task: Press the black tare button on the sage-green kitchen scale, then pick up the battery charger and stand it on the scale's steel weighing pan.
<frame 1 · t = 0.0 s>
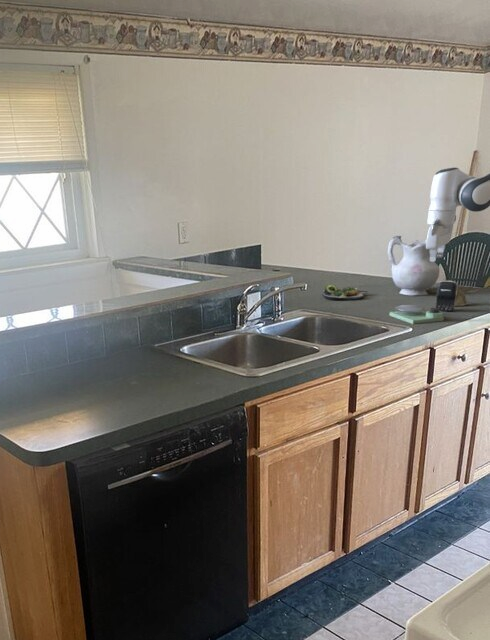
hand: (436, 259, 231), 23 cm above the countertop, tool pointing down, fingers open, 8 cm apart
salad plate: (340, 297, 287), on the countertop
scale: (415, 318, 246), on the countertop
scale pan: (408, 317, 248), resting on scale
tare button: (434, 310, 241), point 3 cm above the countertop, slide at 0.1 cm
ceramic pitcher: (410, 293, 288), on the countertop
battery charger: (443, 311, 254), on the countertop
rock: (451, 306, 263), on the countertop
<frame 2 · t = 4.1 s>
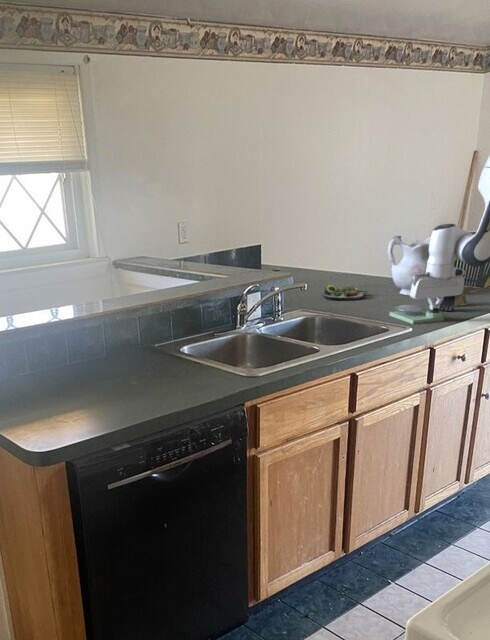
hand: (434, 309, 241), 4 cm above the countertop, tool pointing down, fingers closed, pressing on tare button
tare button: (434, 311, 241), point 3 cm above the countertop, slide at -0.1 cm, touching gripper
everything else where it was.
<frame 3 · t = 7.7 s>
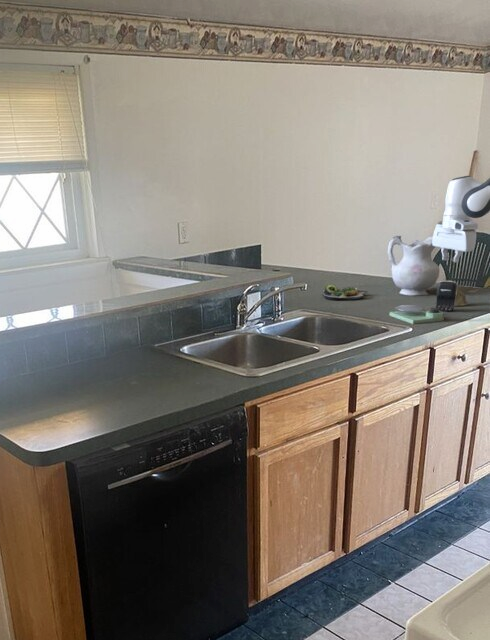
hand: (450, 261, 247), 19 cm above the countertop, tool pointing down, fingers open, 4 cm apart
tare button: (434, 310, 241), point 3 cm above the countertop, slide at 0.1 cm
everything else where it was.
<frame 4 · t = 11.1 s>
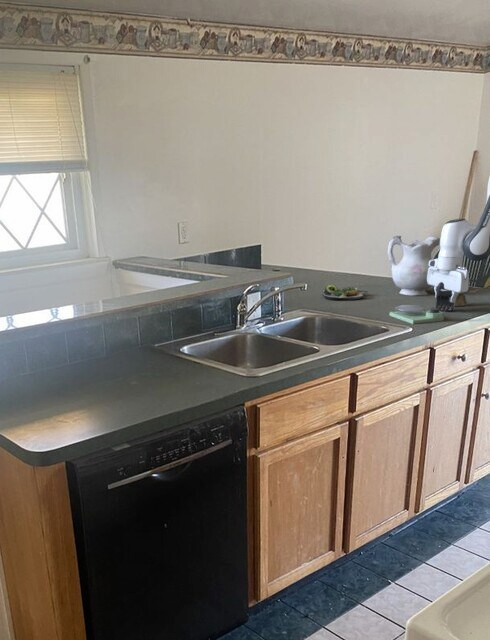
hand: (444, 300, 253), 4 cm above the countertop, tool pointing down, fingers closed on battery charger, 7 cm apart
battery charger: (443, 311, 254), on the countertop, touching gripper
everything else where it was.
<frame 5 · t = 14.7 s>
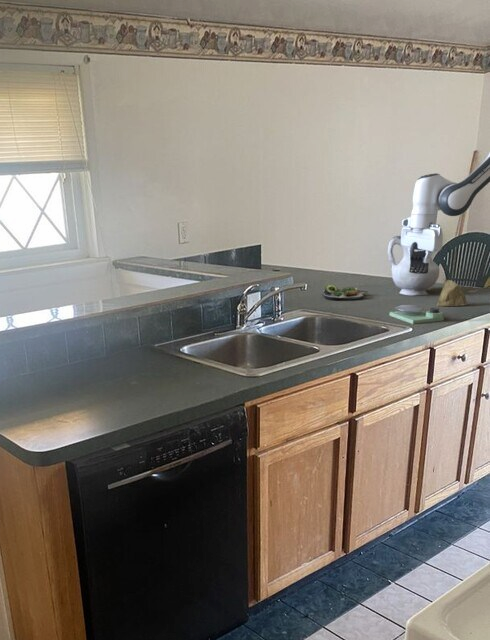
hand: (418, 261, 241), 21 cm above the countertop, tool pointing down, fingers closed on battery charger, 7 cm apart
battery charger: (418, 273, 243), point 16 cm above the countertop, touching gripper
everything else where it was.
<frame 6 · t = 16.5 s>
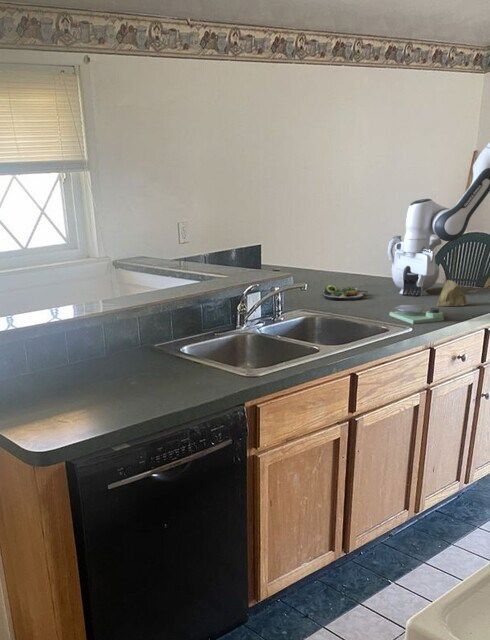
hand: (412, 284, 243), 12 cm above the countertop, tool pointing down, fingers closed on battery charger, 7 cm apart
battery charger: (411, 296, 245), point 8 cm above the countertop, touching gripper
everything else where it was.
when the fingers open (8 cm above the countertop, at t = 18.2 s): battery charger stays where it is, resting on scale pan.
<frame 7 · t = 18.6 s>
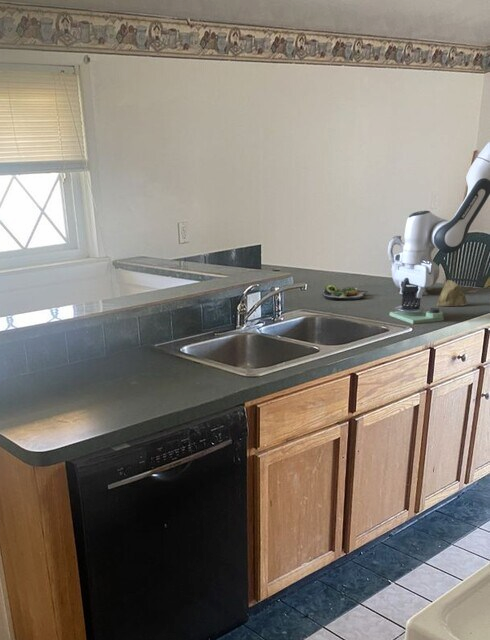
hand: (410, 295, 245), 8 cm above the countertop, tool pointing down, fingers open, 8 cm apart
battery charger: (410, 308, 247), point 3 cm above the countertop, touching scale pan
everything else where it was.
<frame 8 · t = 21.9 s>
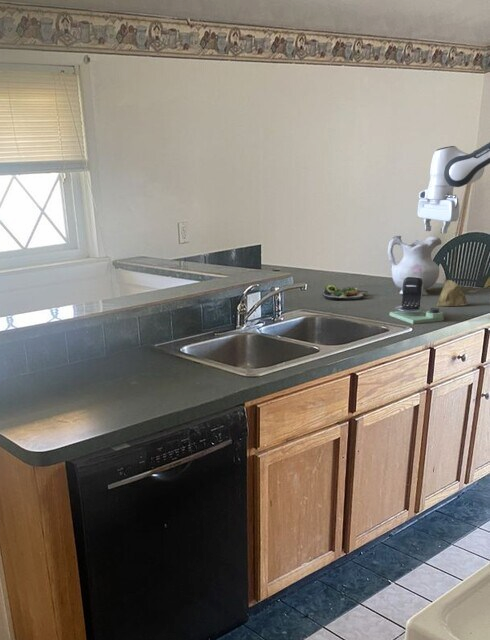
hand: (435, 232, 250), 29 cm above the countertop, tool pointing down, fingers open, 8 cm apart
nothing on the countertop moved.
at the end: tare button pushed in 0.9 cm at the most during the clip, back to where it started at the end; battery charger 0.2 cm from the target spot on the scale, point 3.4 cm above the scale's base; battery charger tilted 0° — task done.
